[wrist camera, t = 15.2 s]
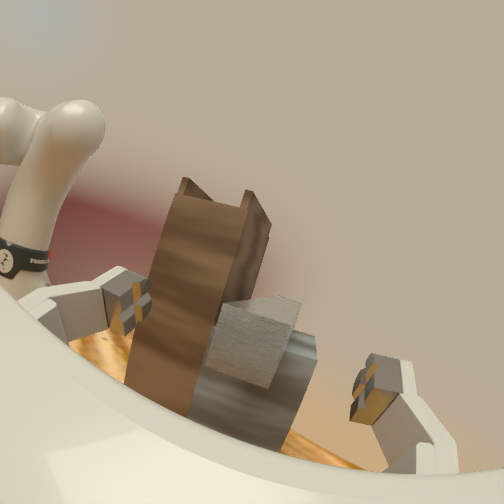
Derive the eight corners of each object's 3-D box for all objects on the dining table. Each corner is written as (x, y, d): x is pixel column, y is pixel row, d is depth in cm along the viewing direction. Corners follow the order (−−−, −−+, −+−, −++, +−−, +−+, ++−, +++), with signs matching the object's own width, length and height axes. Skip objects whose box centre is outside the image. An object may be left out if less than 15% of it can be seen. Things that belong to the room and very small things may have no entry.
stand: (247, 510, 17) (358, 218, 19) (115, 447, 20) (181, 176, 22) (266, 456, 28) (341, 243, 30) (163, 413, 31) (220, 211, 33)
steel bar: (268, 388, 11) (290, 325, 11) (204, 365, 12) (223, 302, 12) (294, 326, 32) (302, 302, 33) (270, 319, 33) (278, 295, 33)
